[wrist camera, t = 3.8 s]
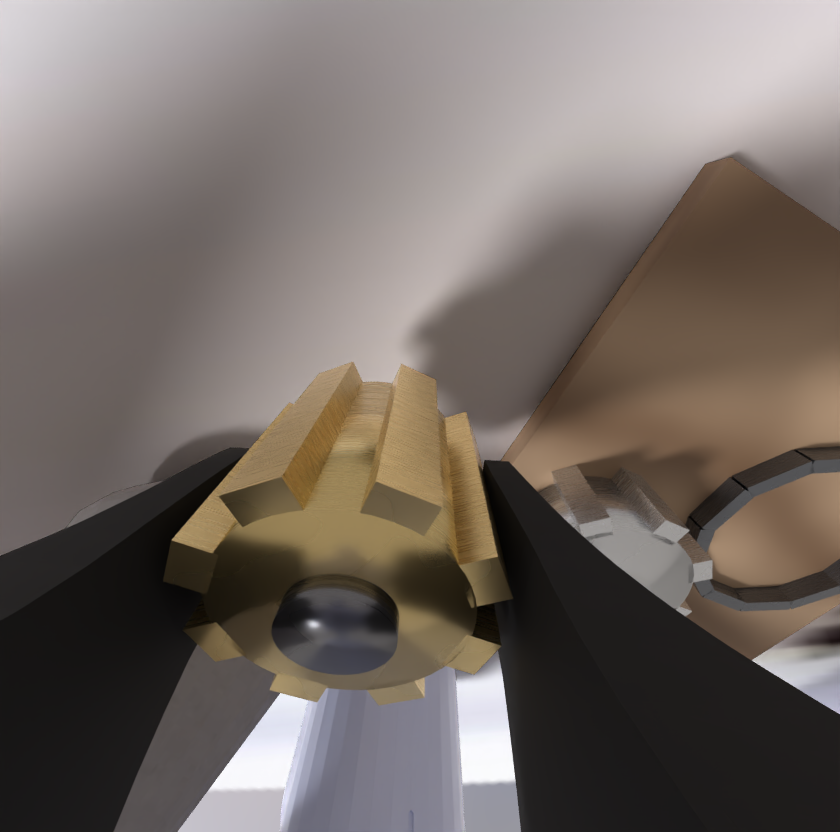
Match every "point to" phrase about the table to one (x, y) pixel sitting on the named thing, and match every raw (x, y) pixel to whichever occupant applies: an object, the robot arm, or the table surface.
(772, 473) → the ring
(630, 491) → the sun gear
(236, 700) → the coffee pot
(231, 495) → the planet gear
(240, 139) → the table surface
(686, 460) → the carrier plate
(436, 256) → the table surface
